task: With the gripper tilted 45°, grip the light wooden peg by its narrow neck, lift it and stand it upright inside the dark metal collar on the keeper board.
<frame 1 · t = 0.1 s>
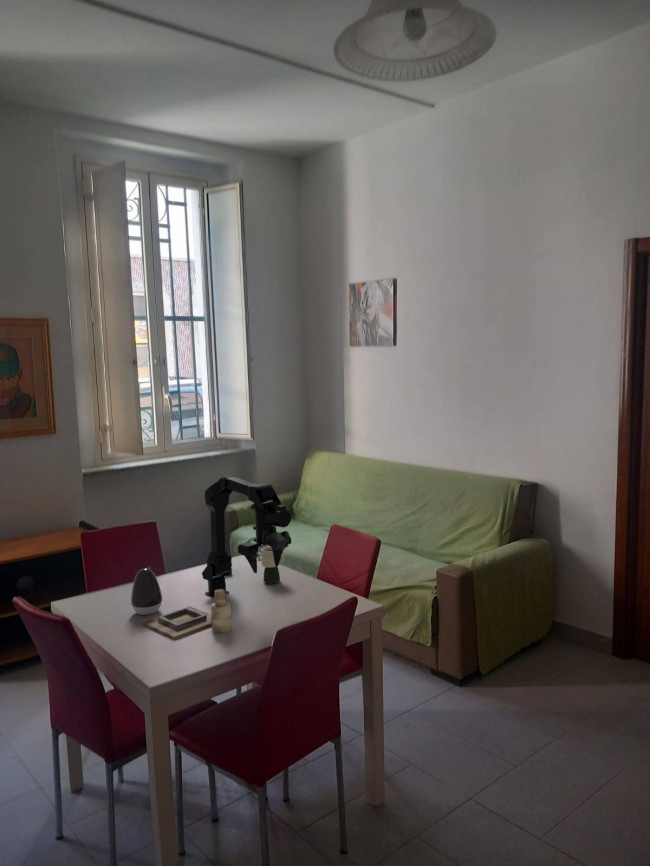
hand: (266, 569, 218), 15 cm above the table, tool pointing down, fingers open, 9 cm apart
black egg-shaped body: (147, 612, 223), on the table
keeper board: (182, 623, 212), on the table
wooden peg: (221, 629, 206), on the table
stack of crates: (222, 575, 263), on the table
cream and green trophy: (271, 582, 250), on the table
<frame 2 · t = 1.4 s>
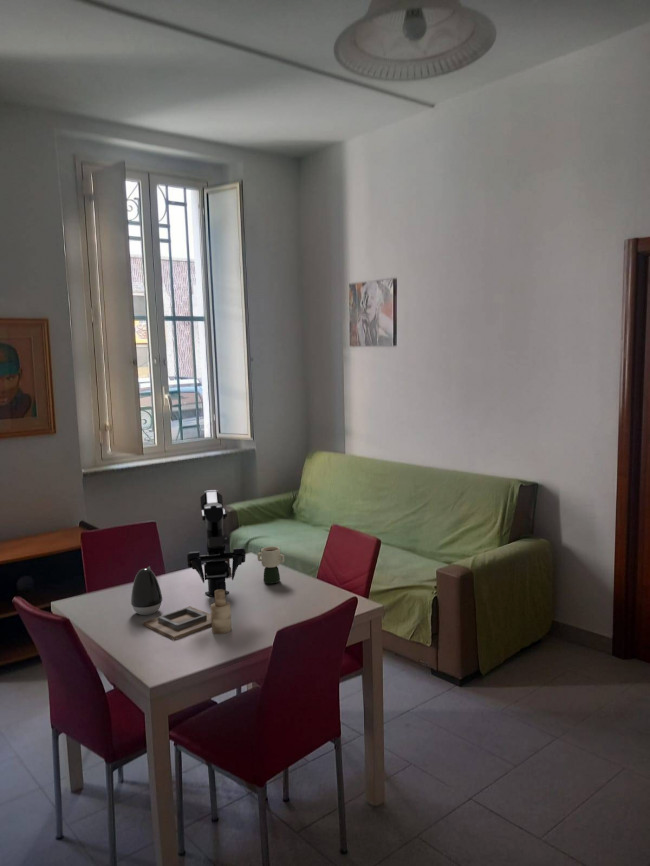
hand: (218, 580, 212), 13 cm above the table, tool tilted 45°, fingers open, 9 cm apart
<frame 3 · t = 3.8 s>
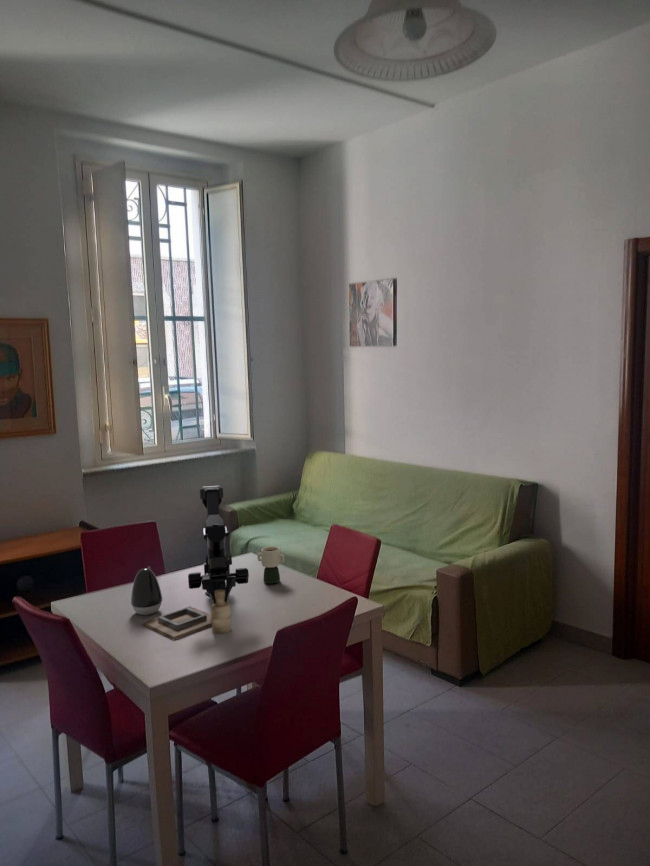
hand: (220, 603, 204), 9 cm above the table, tool tilted 45°, fingers closed on wooden peg, 3 cm apart
wooden peg: (221, 629, 206), on the table, touching gripper
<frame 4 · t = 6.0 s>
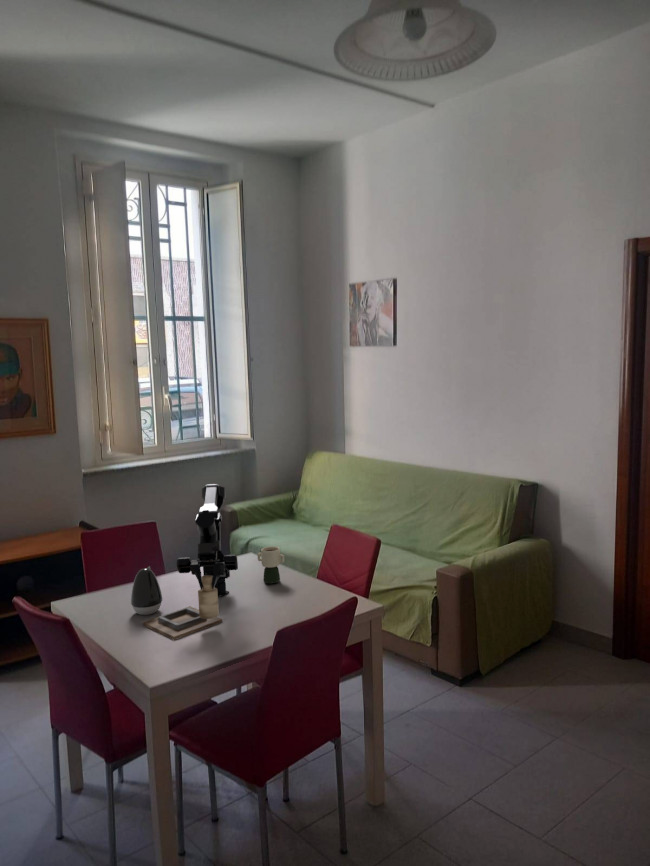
hand: (207, 588, 204), 13 cm above the table, tool tilted 45°, fingers closed on wooden peg, 3 cm apart
wooden peg: (209, 615, 207), point 4 cm above the table, touching gripper
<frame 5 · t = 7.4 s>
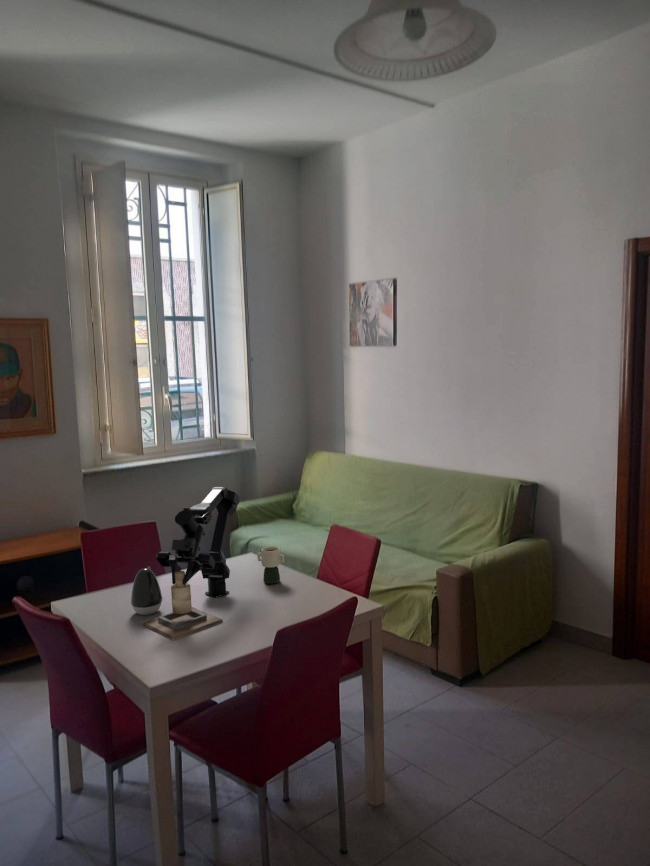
hand: (178, 584, 209), 13 cm above the table, tool tilted 45°, fingers closed on wooden peg, 3 cm apart
wooden peg: (182, 610, 212), point 4 cm above the table, touching gripper
when the fingers open (11 cm above the table, at t = 8.5 s): wooden peg drops 1 cm, resting on keeper board.
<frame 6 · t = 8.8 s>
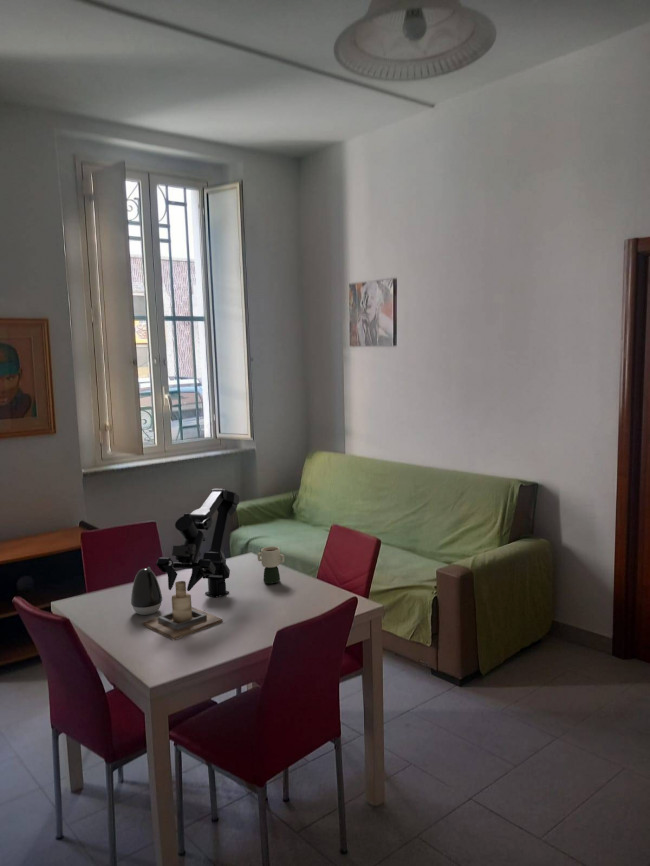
hand: (178, 590, 210), 12 cm above the table, tool tilted 45°, fingers open, 6 cm apart
wooden peg: (182, 620, 212), point 1 cm above the table, touching keeper board
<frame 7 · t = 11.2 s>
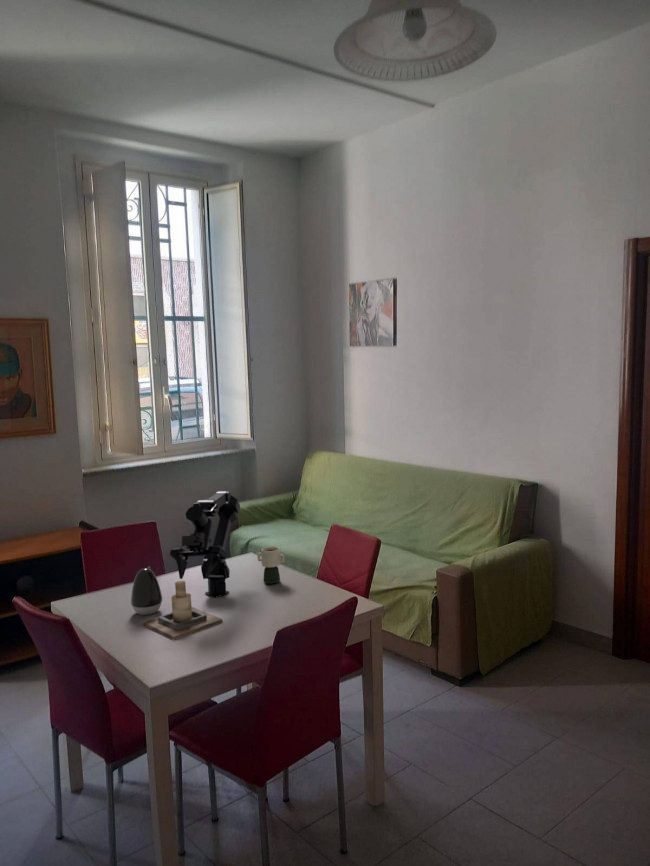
hand: (193, 578, 216), 13 cm above the table, tool tilted 40°, fingers open, 9 cm apart
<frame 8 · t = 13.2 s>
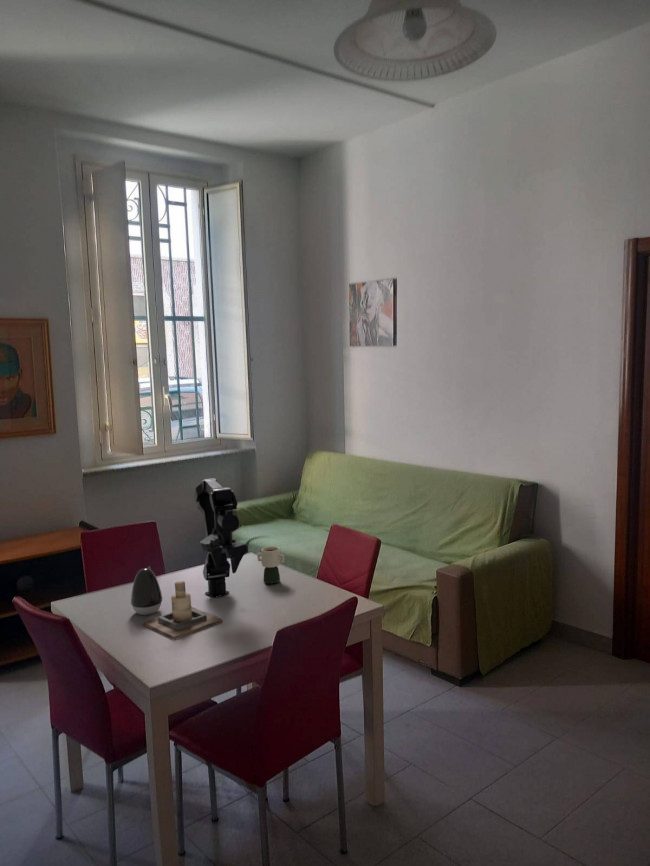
hand: (225, 570, 224), 13 cm above the table, tool pointing down, fingers open, 9 cm apart
at the end: wooden peg 0.1 cm off-centre on the keeper board, point 1.1 cm above the keeper board's base; wooden peg tilted 1°; the gripper is holding nothing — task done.
